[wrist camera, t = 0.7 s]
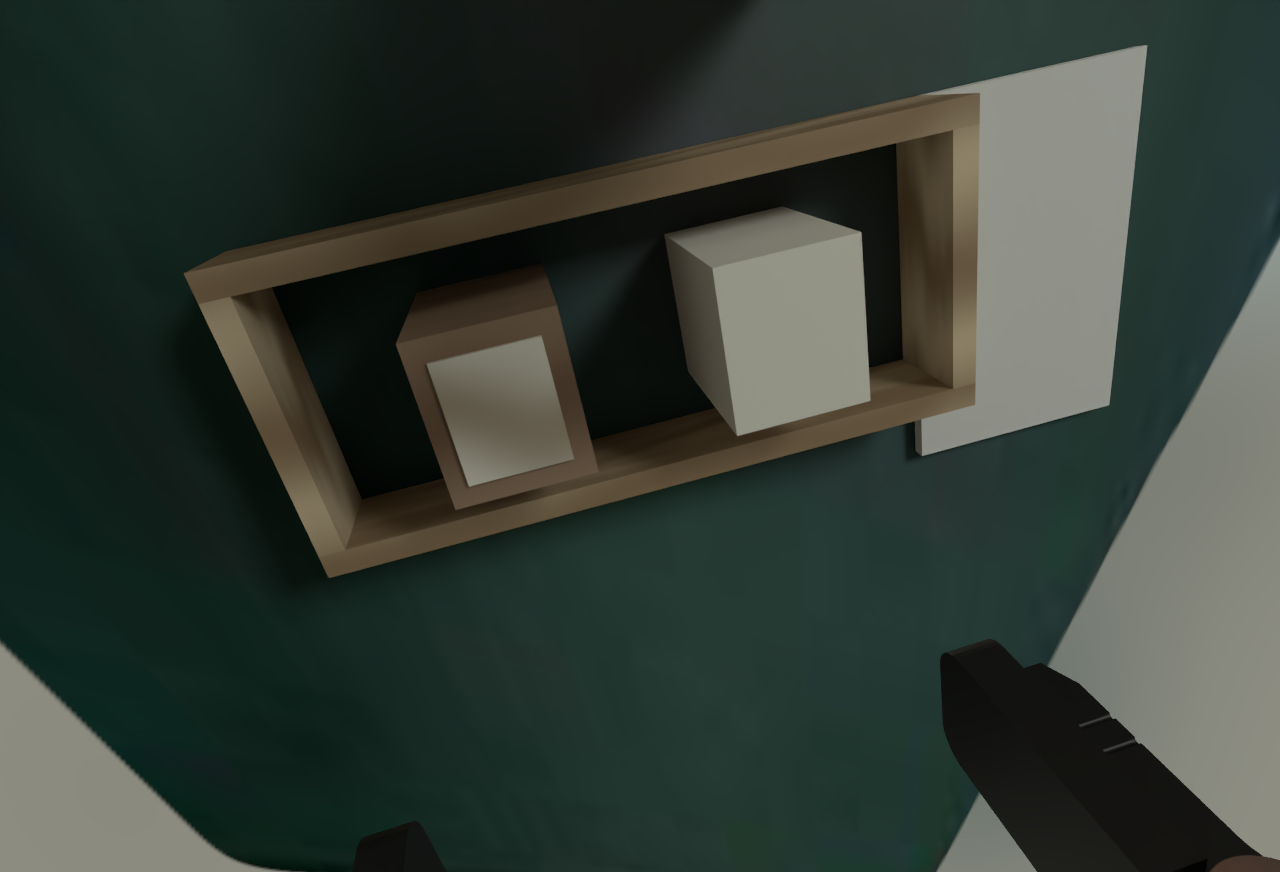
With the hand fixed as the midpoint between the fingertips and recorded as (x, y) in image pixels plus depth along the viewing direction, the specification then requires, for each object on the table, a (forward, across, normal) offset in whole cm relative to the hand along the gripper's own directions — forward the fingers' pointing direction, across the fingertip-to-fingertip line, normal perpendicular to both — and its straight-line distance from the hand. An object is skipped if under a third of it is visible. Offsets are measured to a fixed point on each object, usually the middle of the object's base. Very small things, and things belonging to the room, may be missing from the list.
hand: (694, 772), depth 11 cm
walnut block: (+22, +2, -1) cm, 22 cm away
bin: (+21, -3, -1) cm, 22 cm away
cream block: (+22, -8, 0) cm, 23 cm away
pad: (+21, -20, +2) cm, 30 cm away
